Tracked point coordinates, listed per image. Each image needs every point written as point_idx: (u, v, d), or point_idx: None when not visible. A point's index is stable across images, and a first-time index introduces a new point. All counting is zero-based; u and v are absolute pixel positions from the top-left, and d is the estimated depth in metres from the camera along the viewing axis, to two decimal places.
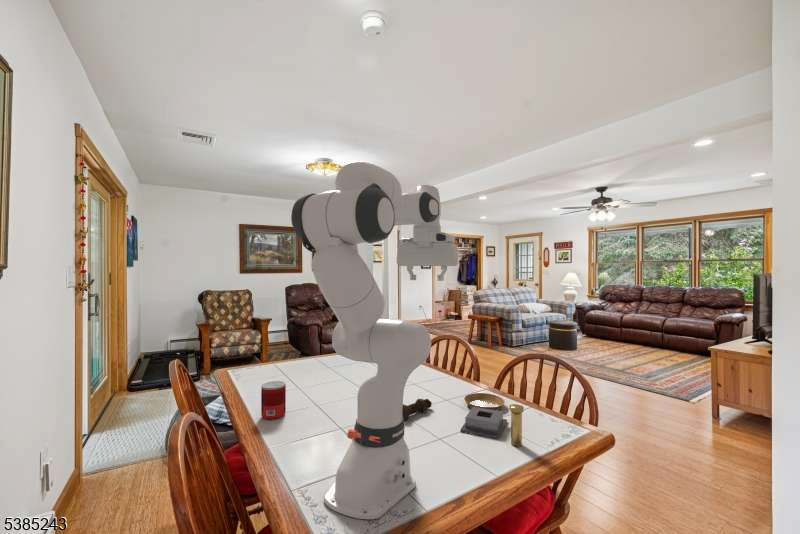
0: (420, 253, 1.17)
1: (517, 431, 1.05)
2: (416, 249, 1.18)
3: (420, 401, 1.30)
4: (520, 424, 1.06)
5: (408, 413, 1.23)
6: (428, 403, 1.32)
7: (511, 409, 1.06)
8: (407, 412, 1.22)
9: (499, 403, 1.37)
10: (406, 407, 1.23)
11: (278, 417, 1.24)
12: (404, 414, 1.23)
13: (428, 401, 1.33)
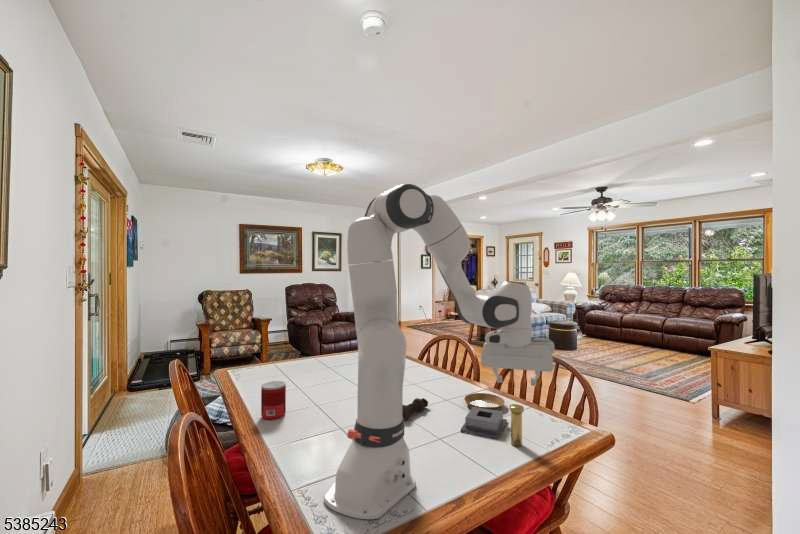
0: None
1: (517, 431, 1.05)
2: None
3: (418, 401, 1.31)
4: (520, 424, 1.06)
5: (408, 413, 1.23)
6: (425, 402, 1.33)
7: (511, 409, 1.06)
8: (407, 412, 1.23)
9: (499, 403, 1.37)
10: (406, 407, 1.23)
11: (278, 417, 1.24)
12: (404, 415, 1.23)
13: (425, 400, 1.34)
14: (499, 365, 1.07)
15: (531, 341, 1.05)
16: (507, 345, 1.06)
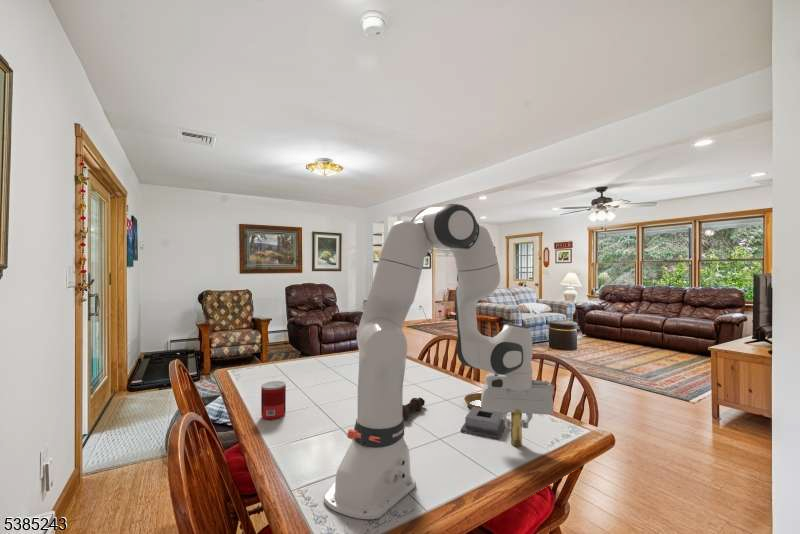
0: None
1: (517, 431, 1.05)
2: None
3: (415, 400, 1.31)
4: (520, 424, 1.06)
5: (408, 413, 1.23)
6: (422, 401, 1.34)
7: None
8: (407, 412, 1.23)
9: None
10: (406, 407, 1.23)
11: (278, 417, 1.24)
12: (404, 415, 1.23)
13: (422, 399, 1.34)
14: (500, 409, 1.06)
15: (532, 384, 1.05)
16: (509, 389, 1.05)
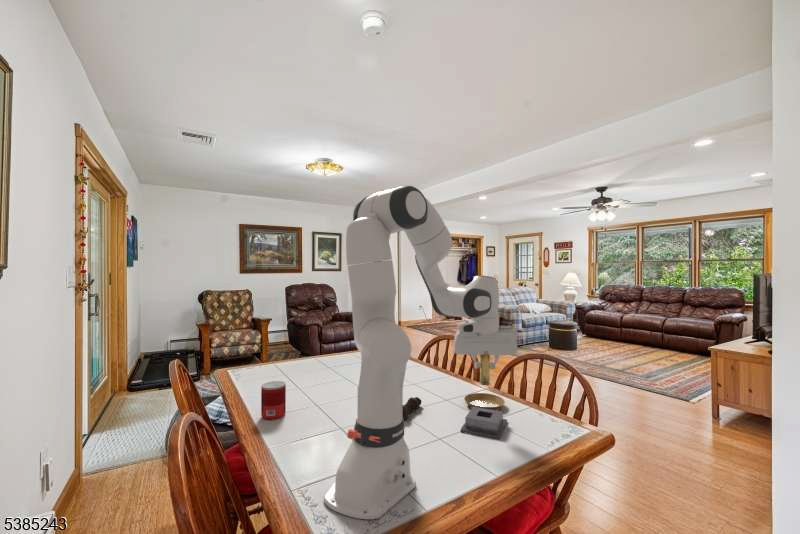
0: None
1: (485, 371, 1.17)
2: None
3: (413, 400, 1.32)
4: (488, 365, 1.18)
5: (408, 413, 1.23)
6: (419, 401, 1.34)
7: None
8: (407, 412, 1.23)
9: (499, 403, 1.37)
10: (405, 407, 1.23)
11: (278, 417, 1.24)
12: (404, 415, 1.23)
13: (418, 399, 1.35)
14: (471, 352, 1.17)
15: (499, 329, 1.17)
16: (478, 333, 1.17)
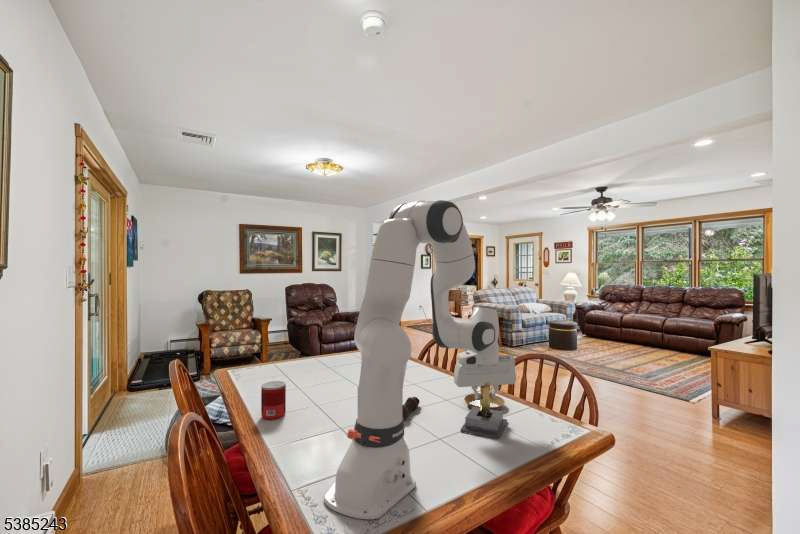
0: None
1: (486, 402, 1.17)
2: None
3: (411, 400, 1.32)
4: (489, 395, 1.18)
5: (408, 413, 1.23)
6: (417, 401, 1.35)
7: None
8: (407, 412, 1.23)
9: (499, 403, 1.37)
10: (405, 407, 1.23)
11: (278, 417, 1.24)
12: (403, 415, 1.23)
13: (417, 399, 1.35)
14: (473, 384, 1.16)
15: (498, 359, 1.18)
16: (480, 365, 1.16)
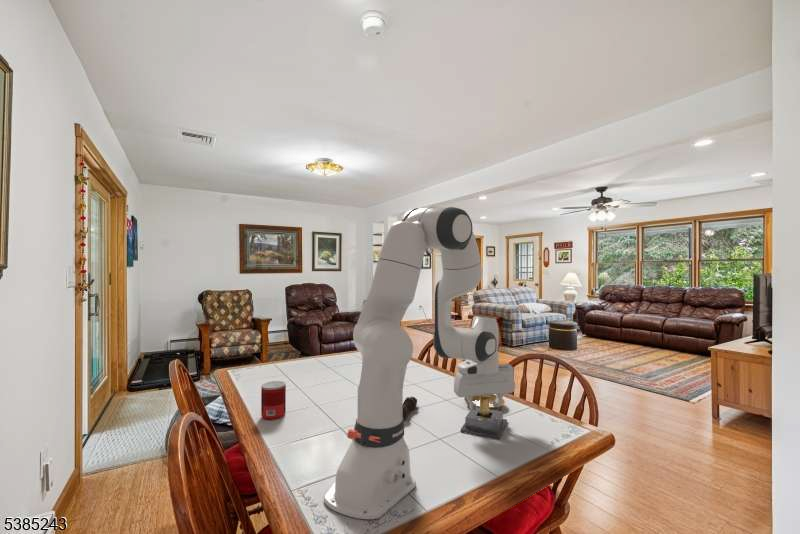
0: None
1: (486, 414, 1.17)
2: None
3: (410, 399, 1.32)
4: (488, 408, 1.18)
5: (408, 413, 1.23)
6: (415, 400, 1.35)
7: (481, 395, 1.17)
8: (407, 412, 1.23)
9: None
10: (405, 407, 1.24)
11: (278, 417, 1.24)
12: (403, 415, 1.23)
13: (414, 399, 1.36)
14: (473, 394, 1.16)
15: None
16: (480, 374, 1.16)
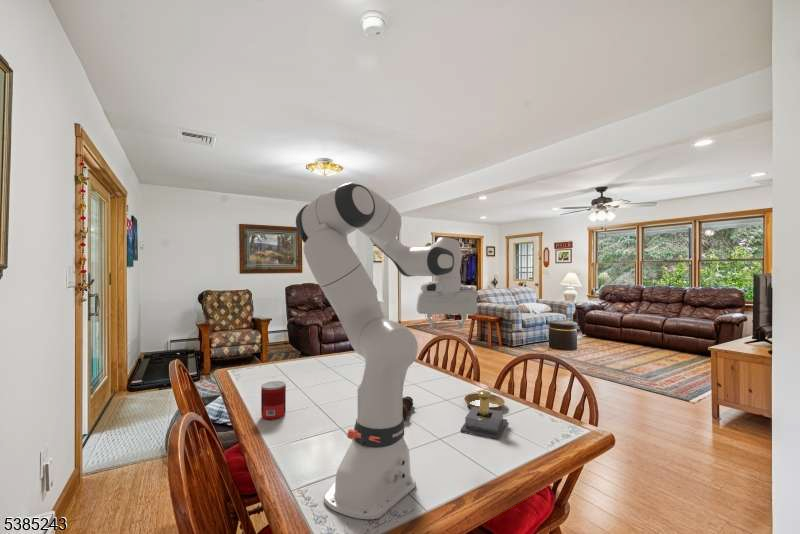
0: None
1: (486, 414, 1.17)
2: None
3: (407, 399, 1.32)
4: (488, 408, 1.18)
5: (408, 412, 1.23)
6: (411, 400, 1.35)
7: (481, 395, 1.17)
8: (407, 411, 1.23)
9: (499, 403, 1.37)
10: (405, 407, 1.24)
11: (278, 417, 1.24)
12: (404, 415, 1.23)
13: (410, 398, 1.36)
14: (433, 311, 1.21)
15: (460, 289, 1.22)
16: (441, 293, 1.21)
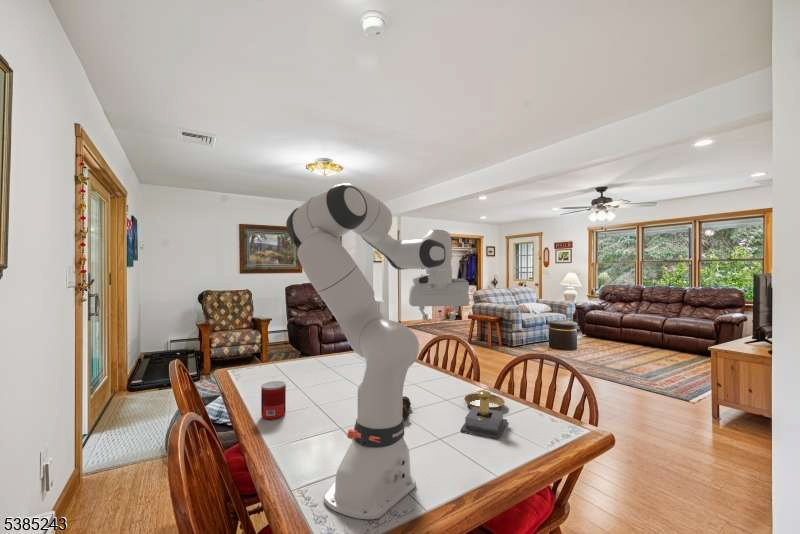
0: None
1: (486, 414, 1.17)
2: None
3: (404, 399, 1.32)
4: (488, 408, 1.18)
5: (408, 412, 1.23)
6: None
7: (481, 395, 1.17)
8: (407, 411, 1.23)
9: (499, 403, 1.37)
10: (405, 407, 1.24)
11: (278, 417, 1.24)
12: (404, 415, 1.23)
13: (407, 398, 1.36)
14: (426, 303, 1.21)
15: (452, 281, 1.23)
16: (433, 285, 1.21)
